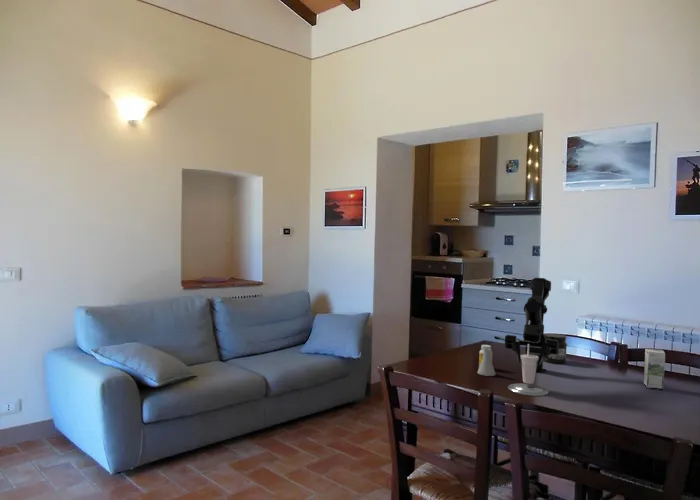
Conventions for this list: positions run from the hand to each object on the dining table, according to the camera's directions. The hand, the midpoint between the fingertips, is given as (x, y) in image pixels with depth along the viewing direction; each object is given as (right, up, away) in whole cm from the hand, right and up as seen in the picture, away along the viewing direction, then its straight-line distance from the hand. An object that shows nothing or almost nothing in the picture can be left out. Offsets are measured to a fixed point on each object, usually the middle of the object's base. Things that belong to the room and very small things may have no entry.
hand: (528, 363), depth 186 cm
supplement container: (+29, -10, +49) cm, 58 cm away
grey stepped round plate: (0, -10, +1) cm, 10 cm away
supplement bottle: (-7, -9, +32) cm, 34 cm away
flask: (-10, -9, +22) cm, 26 cm away
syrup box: (+52, -12, +12) cm, 54 cm away
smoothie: (0, -7, +1) cm, 7 cm away
